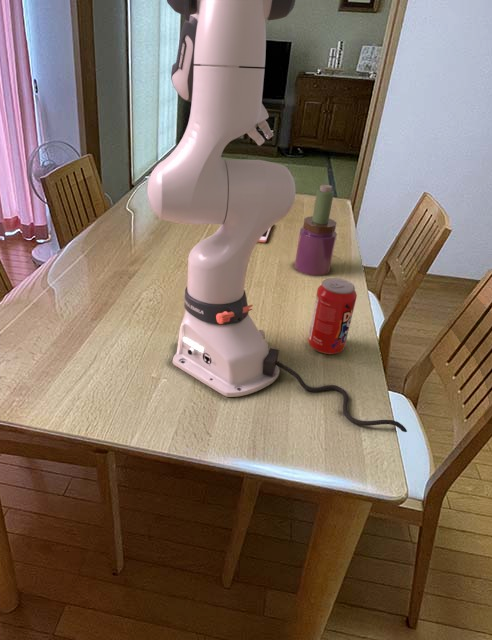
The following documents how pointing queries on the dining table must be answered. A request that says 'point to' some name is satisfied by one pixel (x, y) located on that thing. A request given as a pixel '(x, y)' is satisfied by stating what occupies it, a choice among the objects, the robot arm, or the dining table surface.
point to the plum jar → (315, 247)
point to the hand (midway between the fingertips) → (266, 140)
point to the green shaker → (323, 204)
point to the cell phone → (264, 236)
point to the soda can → (332, 315)
